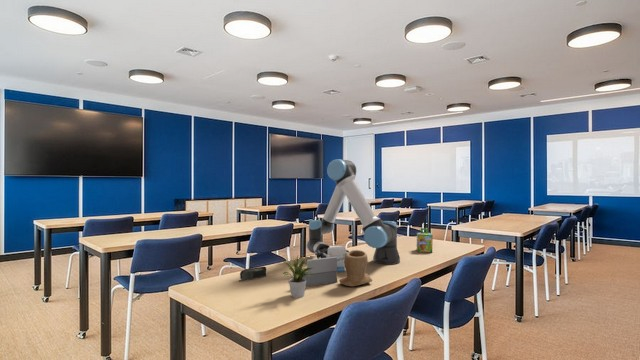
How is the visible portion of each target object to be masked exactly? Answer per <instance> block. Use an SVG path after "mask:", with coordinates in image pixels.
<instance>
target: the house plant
mask: <svg viewBox="0 0 640 360" xmlns="http://www.w3.org/2000/svg"><path fill="white" fill-rule="evenodd" d="M306 258H307V256H305V257H304V258H302V260H301V261H300V262H299V255H297V256H296V259H295V258H294V257H293V262H289V261H288V260H289V258H286V259H285V260H282V262H284V263H285V264H286V265H287V266H288V269H289V270H290V271H291V272H292V274H290V272H288V271H284V272H283V273H282V274H283V275H284V276H291V277H292V278H290V279H289V280H288V284H289V285H288V286H289V290H290V291H289V292H290V296H291V297H292V298H295V299H298V298H303V297H305V290H306V279H304V278H303V277H304V276H305V275H309V276H310V274H307V273H311V274H313V273H312V272H306V271H307V270H310V269H315V268H306V269H305V268H304V267H305V266H306V265H307V264H308V263H309V262H310V261H309V262H308V263H307V262H306ZM311 261H312V260H311ZM305 262H306V263H305ZM291 263H292V265H291ZM302 266H304V267H302ZM302 268H303V269H304V270H303V269H302ZM301 270H302V271H301ZM305 272H306V274H305Z"/></svg>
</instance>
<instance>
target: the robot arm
mask: <svg viewBox="0 0 640 360" xmlns="http://www.w3.org/2000/svg"><path fill="white" fill-rule="evenodd" d="M328 163H329V164H328V166H327V168H326V169H327V171H326V172H327V173H326V174H327V175H328V177H329V179H331V180H332V181H334V183H335V184H336V186H335V188H334V191H333V192H332V196H331V198H330V200H329V203H328V205H327V208H326V210H325V212H324V215H323V216H322V217H323V218H322V219H321V220H320V219H311V220H309V223H308V241H307V243H306V248H307V250H308V251H309V252H310V253H312V254H315V255H314V256H316V259H320V258H329V257H330V256H329V255H328V248H329V247H330V246H331V245H329V244H327V243H324V242H323V241H322V240H323V239H322V238H323V235H326V234H329V233H331V232H333V231H334V229H335V221H336V219H337V217H338V214H339V212H340V209H341V208H342V205H343V202H344V200H345V198H346V197H347V200H348V201H349V202H348V203H350V206H351V207H352V208H353V210H354V212H355V214H356V216H357V217H358V219H359V221H360V223H361V230H362V232H363V239H364V242H365V243H366V245H368V246H369V247H371V248H373V249H374V250H375V251H374V254H373V256H372V261H373V262H374V263H377V264H379V265H380V264H381V265H396V264H397V265H398V263H400V262H401V257H400V253H399V251H398V244H397V243H398V242H397V241H398V237H397V236H398V235H397V234H398V231H397V230H398V226H397V222H396V221H390V220H382V219H381V218H380V217H377V216H376V213H375V211H373V209H372V207H371V206H370V204H369V201H367V200H368V199H366V197H365V195H364V194H363V192H362V190H361V188H360V187H359V185H358V183H357V182H356V176H357V166H356V165H355V163H354V162H353V161H351V160H349V159H340V158H337V159H333V160H331V161H330V162H328ZM347 252H350V251H349V250H347V249H345V255H346V253H347Z"/></svg>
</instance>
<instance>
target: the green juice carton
mask: <svg viewBox="0 0 640 360" xmlns="http://www.w3.org/2000/svg"><path fill="white" fill-rule="evenodd" d="M433 239H434V238H433V234H432V233H431V232H429V229H428V228H427V227H425V228H424V227H421V228H420V232H416V251H417V253H430V254H431V253H433Z"/></svg>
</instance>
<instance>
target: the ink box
mask: <svg viewBox="0 0 640 360" xmlns="http://www.w3.org/2000/svg"><path fill="white" fill-rule="evenodd" d="M329 246H330V247H329V248H328V255H329V256H330V257H337V273H338V272H341V273H342V272H343V273H344V271H346V269H345V263H344V261H345V250H346V246H344V245H329Z"/></svg>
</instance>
